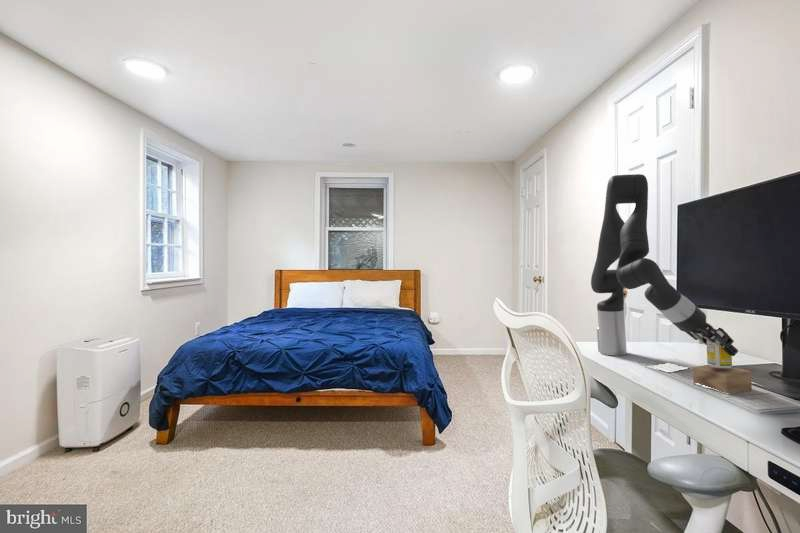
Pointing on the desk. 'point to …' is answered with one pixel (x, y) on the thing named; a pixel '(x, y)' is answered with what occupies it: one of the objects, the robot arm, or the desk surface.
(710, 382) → the walnut block
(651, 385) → the desk surface
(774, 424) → the desk surface
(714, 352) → the supplement bottle
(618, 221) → the robot arm
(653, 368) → the page
